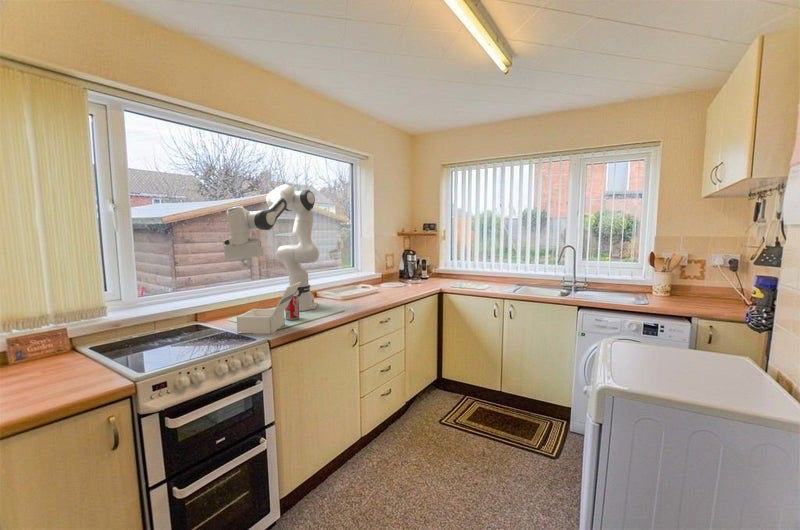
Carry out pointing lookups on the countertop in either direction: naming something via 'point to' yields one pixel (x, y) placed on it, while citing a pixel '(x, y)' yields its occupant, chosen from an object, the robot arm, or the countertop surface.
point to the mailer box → (260, 321)
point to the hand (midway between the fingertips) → (246, 266)
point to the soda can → (292, 308)
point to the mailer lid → (286, 298)
